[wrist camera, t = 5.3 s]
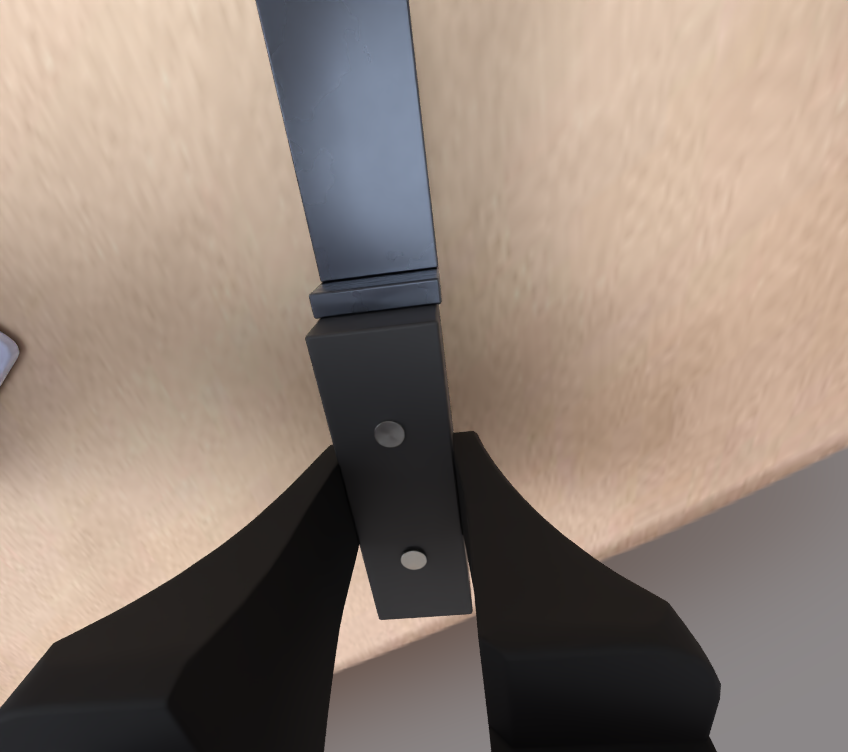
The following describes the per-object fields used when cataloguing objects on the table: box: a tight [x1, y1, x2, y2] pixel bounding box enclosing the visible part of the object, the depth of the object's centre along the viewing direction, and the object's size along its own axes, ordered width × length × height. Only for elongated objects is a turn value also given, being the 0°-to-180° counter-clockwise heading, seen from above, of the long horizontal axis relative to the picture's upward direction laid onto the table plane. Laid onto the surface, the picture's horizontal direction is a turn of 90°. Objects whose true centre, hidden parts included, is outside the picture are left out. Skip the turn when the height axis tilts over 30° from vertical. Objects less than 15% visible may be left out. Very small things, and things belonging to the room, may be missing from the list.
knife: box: [255, 0, 473, 620], centre depth 9 cm, size 19×3×3 cm, turn 7°
